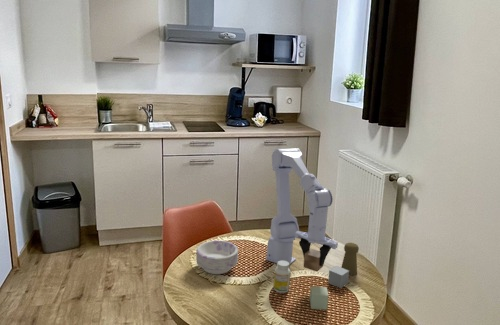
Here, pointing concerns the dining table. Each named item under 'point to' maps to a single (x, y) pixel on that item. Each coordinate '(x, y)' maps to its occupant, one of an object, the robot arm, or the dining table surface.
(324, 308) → the sage green block
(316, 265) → the walnut block
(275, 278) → the supplement bottle
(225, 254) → the white purple bowl
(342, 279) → the slate grey block
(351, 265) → the olive brown rounded piece
